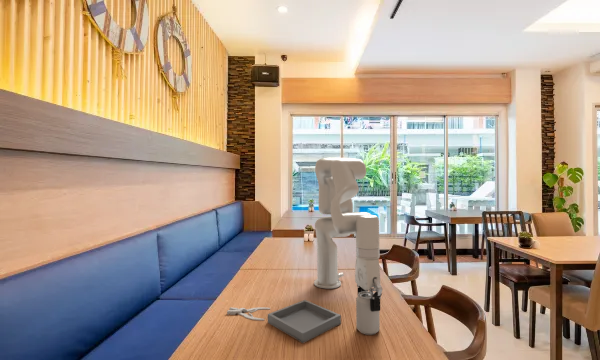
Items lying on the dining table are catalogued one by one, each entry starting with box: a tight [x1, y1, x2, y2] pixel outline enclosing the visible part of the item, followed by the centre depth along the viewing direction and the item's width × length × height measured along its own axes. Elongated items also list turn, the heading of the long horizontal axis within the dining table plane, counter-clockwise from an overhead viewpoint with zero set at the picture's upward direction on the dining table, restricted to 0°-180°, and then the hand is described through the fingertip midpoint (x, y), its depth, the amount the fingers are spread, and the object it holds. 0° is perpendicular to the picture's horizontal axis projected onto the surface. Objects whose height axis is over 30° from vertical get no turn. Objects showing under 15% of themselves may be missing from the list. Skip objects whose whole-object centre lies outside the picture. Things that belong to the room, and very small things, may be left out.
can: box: [355, 291, 381, 336], centre depth 101 cm, size 8×8×12 cm
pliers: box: [226, 306, 271, 321], centre depth 114 cm, size 10×2×15 cm
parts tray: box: [267, 299, 342, 344], centre depth 106 cm, size 18×18×3 cm
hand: (368, 304), depth 100 cm, fingers open, 9 cm apart
